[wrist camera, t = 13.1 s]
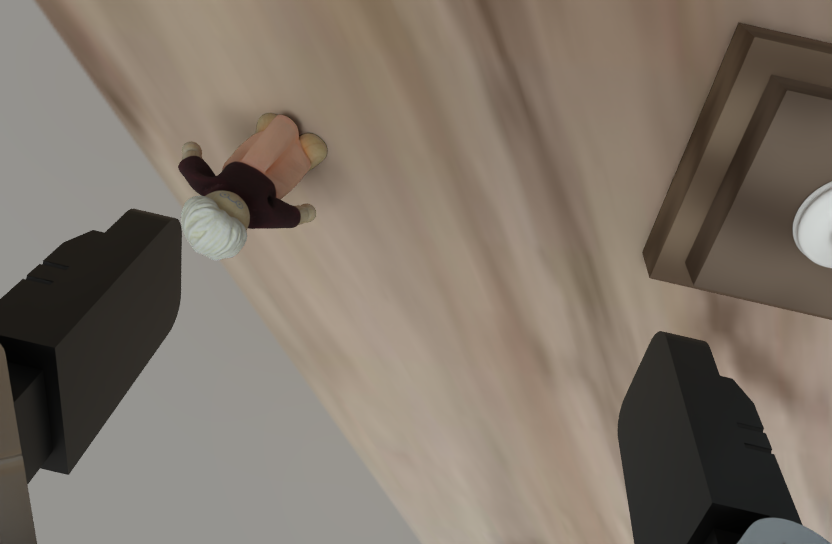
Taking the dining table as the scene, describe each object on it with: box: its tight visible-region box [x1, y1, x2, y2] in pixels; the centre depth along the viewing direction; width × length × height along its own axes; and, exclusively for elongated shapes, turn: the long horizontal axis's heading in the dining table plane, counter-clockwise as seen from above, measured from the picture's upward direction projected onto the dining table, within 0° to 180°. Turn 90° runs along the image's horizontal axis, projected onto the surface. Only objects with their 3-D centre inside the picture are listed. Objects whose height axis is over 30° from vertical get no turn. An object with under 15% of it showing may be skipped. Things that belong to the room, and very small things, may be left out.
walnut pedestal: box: [642, 23, 832, 320], centre depth 38 cm, size 14×14×6 cm
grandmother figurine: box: [178, 113, 327, 260], centre depth 38 cm, size 8×4×13 cm, turn 72°
